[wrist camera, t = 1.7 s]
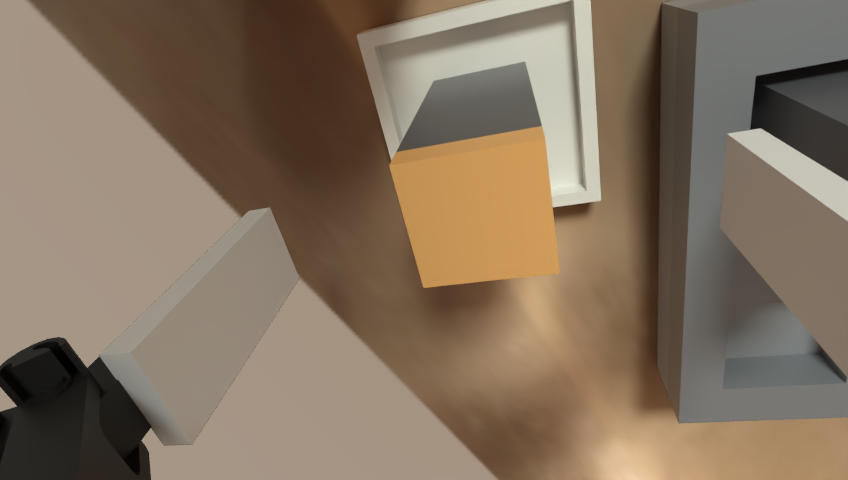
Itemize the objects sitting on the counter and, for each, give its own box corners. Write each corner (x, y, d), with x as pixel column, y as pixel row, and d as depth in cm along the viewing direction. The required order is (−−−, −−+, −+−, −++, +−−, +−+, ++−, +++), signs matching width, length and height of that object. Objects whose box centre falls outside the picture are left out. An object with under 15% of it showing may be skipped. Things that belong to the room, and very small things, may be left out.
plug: (433, 80, 21) (388, 165, 12) (525, 61, 20) (545, 138, 11) (451, 164, 23) (423, 287, 14) (536, 150, 22) (559, 273, 13)
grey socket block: (661, 3, 19) (697, 13, 15) (936, -59, 17) (1049, -63, 13) (657, 367, 28) (678, 423, 25) (832, 356, 26) (882, 416, 23)
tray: (365, 30, 21) (356, 34, 19) (583, -24, 19) (589, -22, 17) (414, 213, 25) (409, 227, 24) (595, 187, 23) (601, 200, 22)
